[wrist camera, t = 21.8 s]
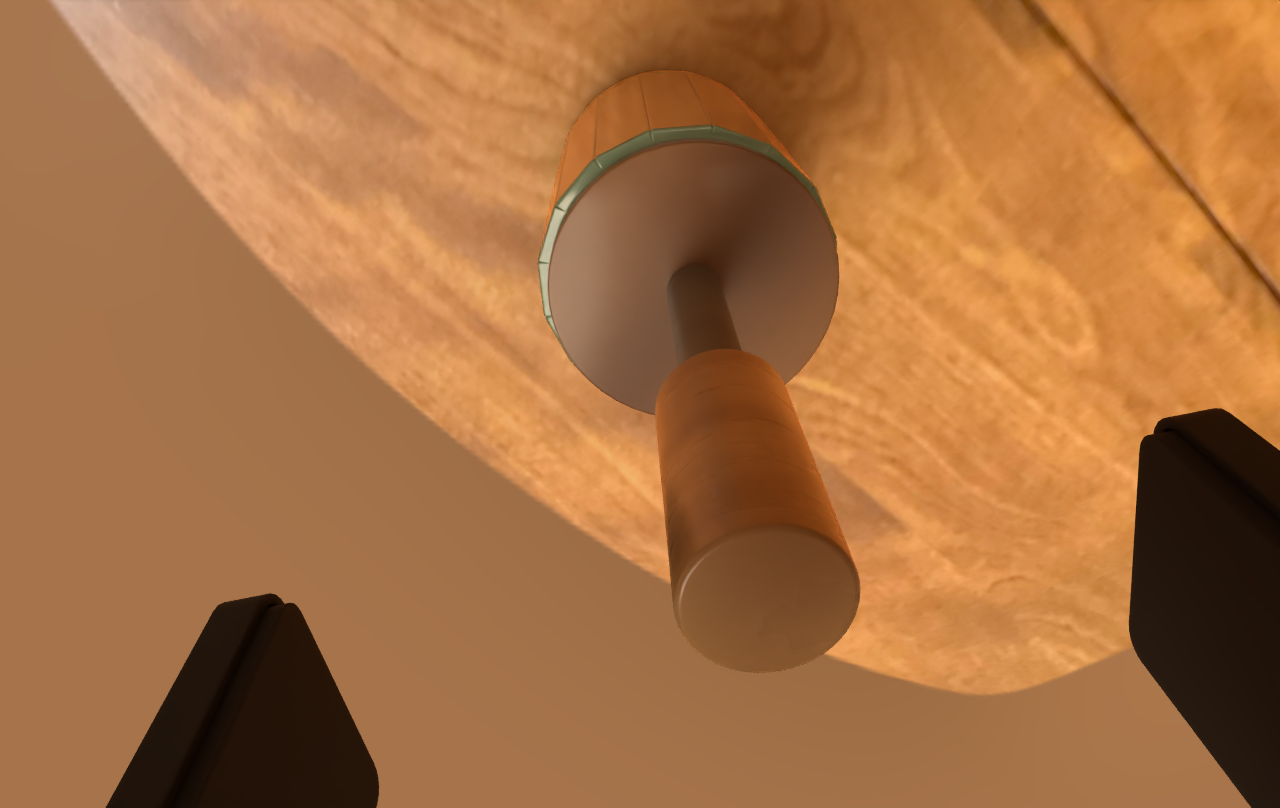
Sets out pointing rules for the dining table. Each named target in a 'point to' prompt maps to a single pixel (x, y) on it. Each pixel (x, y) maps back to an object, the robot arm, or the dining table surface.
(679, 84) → the holder
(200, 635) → the robot arm
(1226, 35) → the dining table surface
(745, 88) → the dining table surface
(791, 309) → the brush
